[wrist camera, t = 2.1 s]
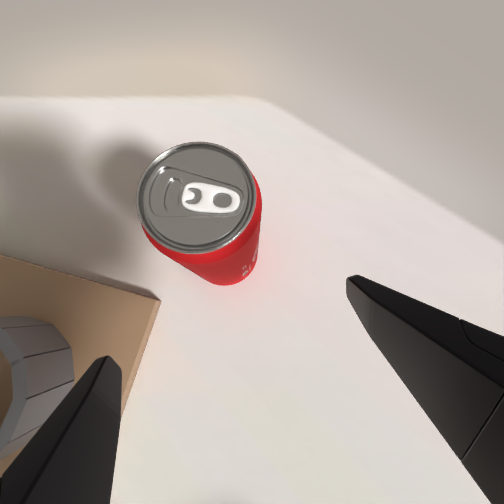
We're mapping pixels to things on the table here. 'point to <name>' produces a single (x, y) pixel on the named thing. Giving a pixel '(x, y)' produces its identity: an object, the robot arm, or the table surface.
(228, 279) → the beverage can
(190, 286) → the table surface
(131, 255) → the table surface
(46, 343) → the square cardboard coaster
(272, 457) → the table surface
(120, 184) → the table surface
